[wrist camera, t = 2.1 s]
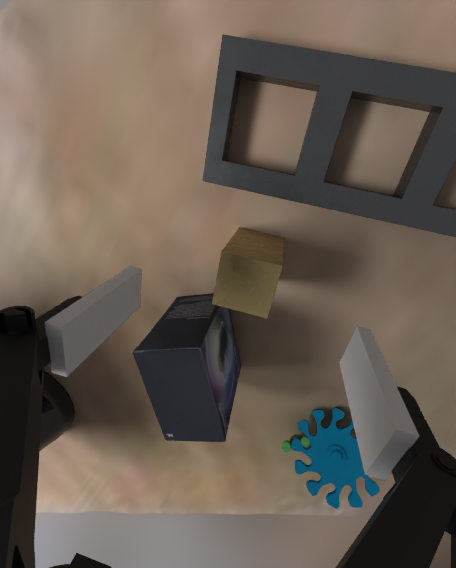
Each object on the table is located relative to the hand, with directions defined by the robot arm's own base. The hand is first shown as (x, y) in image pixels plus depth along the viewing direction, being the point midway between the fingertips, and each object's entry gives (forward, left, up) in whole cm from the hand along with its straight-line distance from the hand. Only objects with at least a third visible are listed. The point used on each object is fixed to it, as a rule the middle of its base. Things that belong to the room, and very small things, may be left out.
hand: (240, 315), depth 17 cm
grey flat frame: (+7, +11, -12) cm, 18 cm away
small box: (-3, -11, -13) cm, 17 cm away
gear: (+14, -20, -13) cm, 28 cm away
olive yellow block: (0, 0, -12) cm, 12 cm away
